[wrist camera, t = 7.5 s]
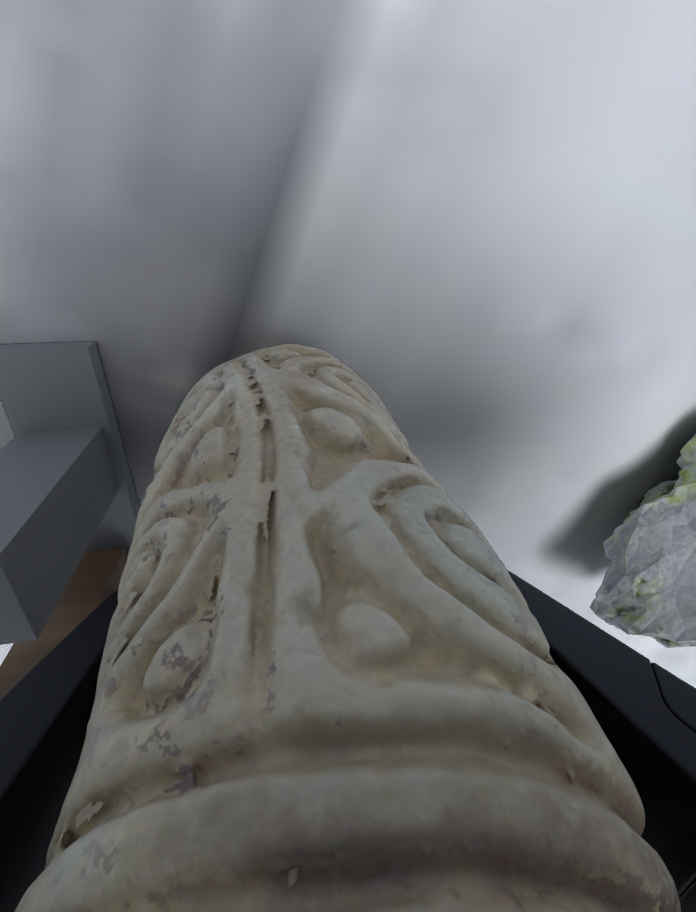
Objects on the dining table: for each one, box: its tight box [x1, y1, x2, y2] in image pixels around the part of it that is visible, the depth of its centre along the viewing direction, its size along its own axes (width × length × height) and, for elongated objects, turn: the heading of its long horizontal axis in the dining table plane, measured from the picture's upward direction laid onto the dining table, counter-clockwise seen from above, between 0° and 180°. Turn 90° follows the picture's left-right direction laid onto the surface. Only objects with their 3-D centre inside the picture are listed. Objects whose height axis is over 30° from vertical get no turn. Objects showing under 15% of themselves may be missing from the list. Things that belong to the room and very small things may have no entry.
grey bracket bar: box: [0, 341, 140, 645], centre depth 15 cm, size 30×2×6 cm, turn 0°
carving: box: [15, 344, 681, 912], centre depth 8 cm, size 6×8×12 cm
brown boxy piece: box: [0, 547, 127, 699], centre depth 14 cm, size 12×7×5 cm, turn 0°
